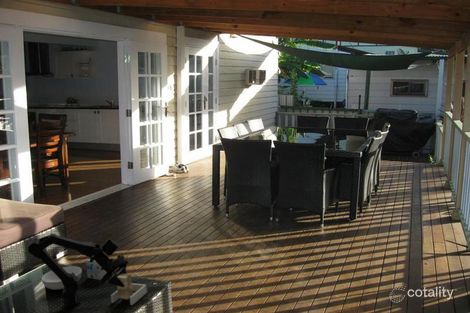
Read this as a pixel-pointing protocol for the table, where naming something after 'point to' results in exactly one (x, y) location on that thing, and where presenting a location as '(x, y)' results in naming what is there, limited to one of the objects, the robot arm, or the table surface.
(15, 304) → the table surface
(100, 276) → the light bulb box
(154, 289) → the table surface
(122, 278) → the maple block
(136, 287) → the trap trough
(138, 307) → the table surface
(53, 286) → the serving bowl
